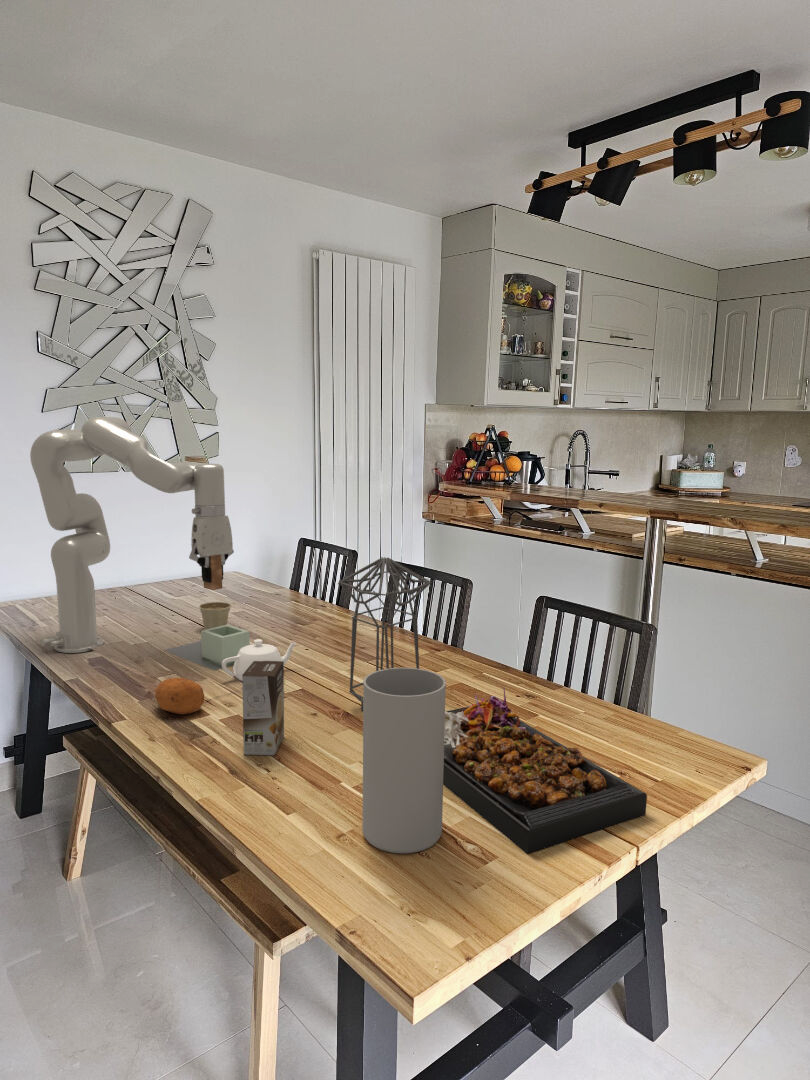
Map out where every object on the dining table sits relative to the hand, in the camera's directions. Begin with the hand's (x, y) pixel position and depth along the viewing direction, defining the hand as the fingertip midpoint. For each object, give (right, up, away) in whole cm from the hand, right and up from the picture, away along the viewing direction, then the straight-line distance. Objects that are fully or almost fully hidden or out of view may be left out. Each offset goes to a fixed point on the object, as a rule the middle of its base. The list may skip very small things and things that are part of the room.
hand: (212, 579), depth 195 cm
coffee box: (+23, -30, -48) cm, 62 cm away
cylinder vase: (+50, -36, -79) cm, 100 cm away
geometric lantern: (+46, -28, -30) cm, 61 cm away
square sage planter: (+4, -21, 0) cm, 21 cm away
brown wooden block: (0, -2, 0) cm, 2 cm away
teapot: (+15, -24, -11) cm, 31 cm away
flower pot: (-6, -18, +27) cm, 33 cm away
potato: (+1, -27, -32) cm, 42 cm away
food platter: (+69, -33, -59) cm, 97 cm away
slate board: (-2, -21, +5) cm, 22 cm away
